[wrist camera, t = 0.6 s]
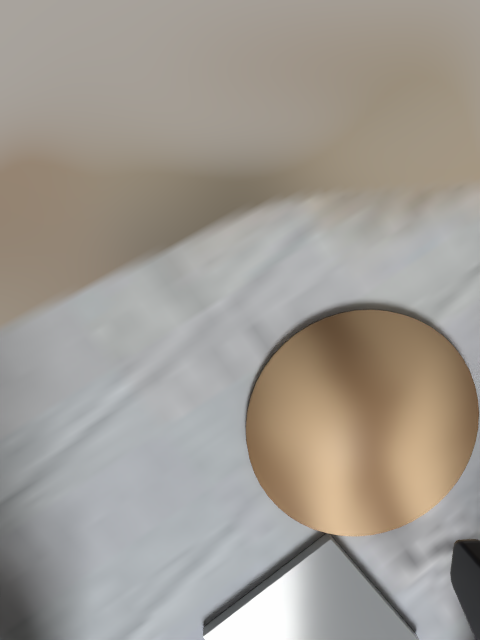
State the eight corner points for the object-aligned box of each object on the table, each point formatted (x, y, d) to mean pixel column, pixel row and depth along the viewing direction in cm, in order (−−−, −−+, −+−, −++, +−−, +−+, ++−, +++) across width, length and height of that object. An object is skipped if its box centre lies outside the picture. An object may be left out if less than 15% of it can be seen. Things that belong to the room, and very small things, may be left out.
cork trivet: (311, 569, 23) (313, 574, 23) (202, 384, 21) (202, 386, 21) (507, 463, 23) (512, 466, 23) (418, 265, 21) (421, 265, 21)
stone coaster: (298, 722, 25) (299, 733, 24) (203, 627, 23) (203, 636, 23) (416, 634, 25) (421, 643, 24) (328, 532, 23) (331, 539, 22)
